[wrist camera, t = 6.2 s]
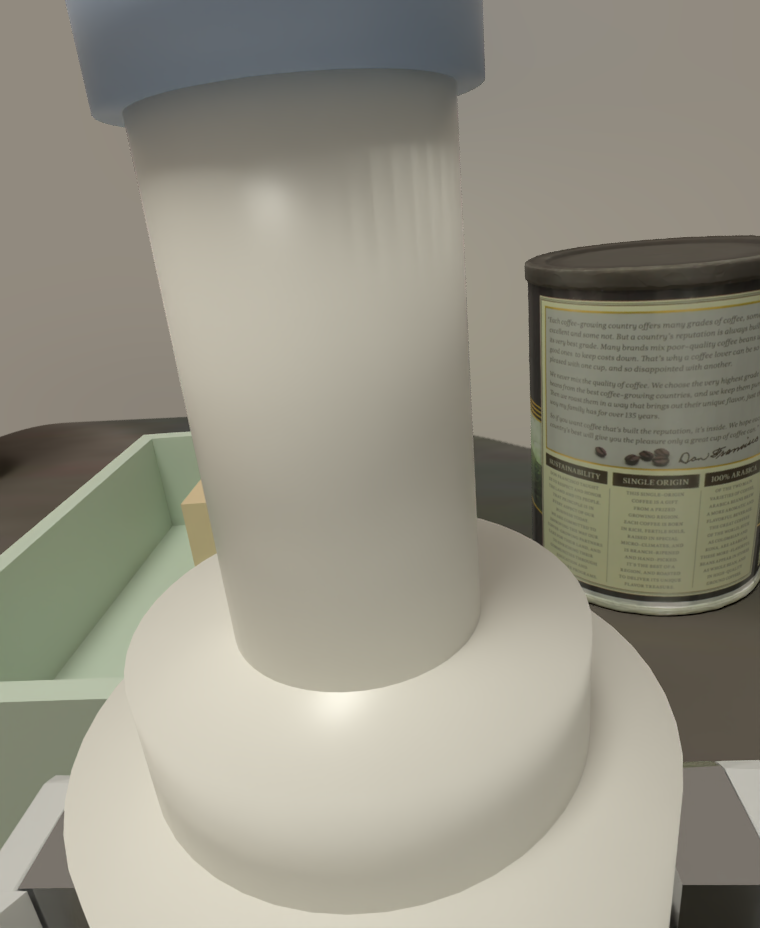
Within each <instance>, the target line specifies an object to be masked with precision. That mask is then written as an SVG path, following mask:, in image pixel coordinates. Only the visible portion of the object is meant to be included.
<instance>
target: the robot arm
mask: <svg viewBox="0 0 760 928" xmlns="http://www.w3.org/2000/svg"><path fill="white" fill-rule="evenodd" d="M69 779H70V775H56V776H54V777H53V778H51V779H50V780H49V781H47V782H46V783H45V784H44V785H43V786H42V788H41V789H40V791H39V792H38V794H37V795H36V797H35V798H34V800H33V801H32V803H31V804H30V806H29V807H28V809H27V810H26V812H25V813H24V815H23V817H22V818H21V820H20V821H19V823H18V824H17V826H16V827H15V829H14V830H13V832H12V833H11V835H10V836H9V838H8V839H7V841H6V842H5V844H4V845H3V847H2V848H1V850H0V928H90V927H89V924H88V922H87V919H86V917H85V914H84V912H83V909H82V907H81V904H80V901H79V898H78V895H77V893H76V890H75V887H74V884H73V881H72V879H71V876H70V873H69V870H68V864H67V857H66V850H65V843H64V836H63V832H64V808H65V798H66V793H67V789H68V784H69ZM669 928H760V761H759V760H742V761H716V762H712V761H700V762H683V795H682V805H681V815H680V825H679V835H678V845H677V855H676V865H675V875H674V885H673V895H672V905H671V915H670V925H669Z"/></svg>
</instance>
